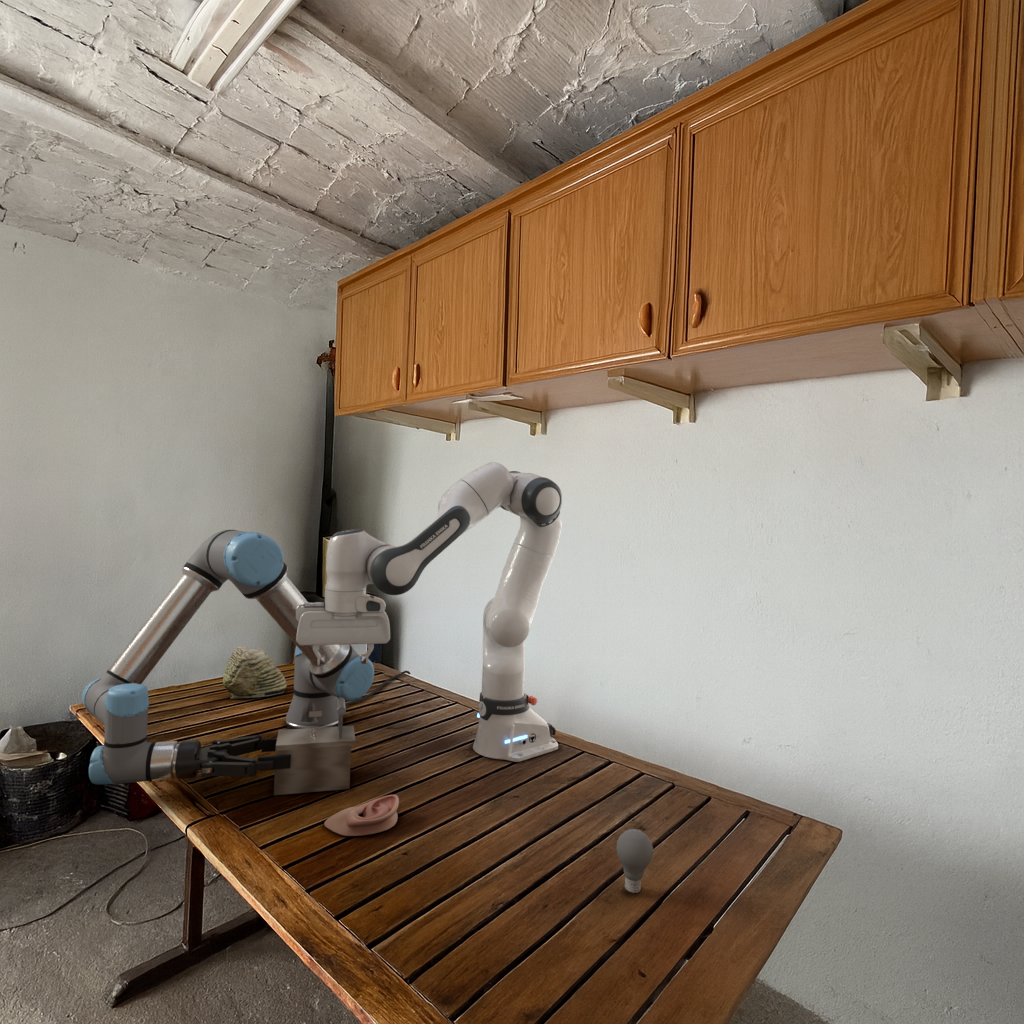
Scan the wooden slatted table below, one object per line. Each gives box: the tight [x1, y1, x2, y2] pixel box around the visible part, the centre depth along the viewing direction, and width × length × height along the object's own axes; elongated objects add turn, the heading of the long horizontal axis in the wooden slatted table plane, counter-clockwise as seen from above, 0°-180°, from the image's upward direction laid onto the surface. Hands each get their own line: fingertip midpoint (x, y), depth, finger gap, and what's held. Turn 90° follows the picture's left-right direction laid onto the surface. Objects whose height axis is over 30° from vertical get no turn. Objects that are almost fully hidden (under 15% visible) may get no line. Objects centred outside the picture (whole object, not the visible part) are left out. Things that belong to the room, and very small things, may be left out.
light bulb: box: [615, 828, 654, 894], centre depth 106 cm, size 6×6×10 cm
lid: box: [275, 698, 356, 752], centre depth 140 cm, size 16×9×8 cm, turn 107°
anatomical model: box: [323, 794, 400, 837], centre depth 124 cm, size 13×4×12 cm
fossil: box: [222, 646, 288, 699], centre depth 198 cm, size 9×18×15 cm, turn 132°
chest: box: [273, 746, 352, 796], centre depth 140 cm, size 16×9×9 cm, turn 107°
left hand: (291, 752), depth 139 cm, fingers closed on chest, 9 cm apart
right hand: (342, 663), depth 141 cm, fingers open, 8 cm apart
